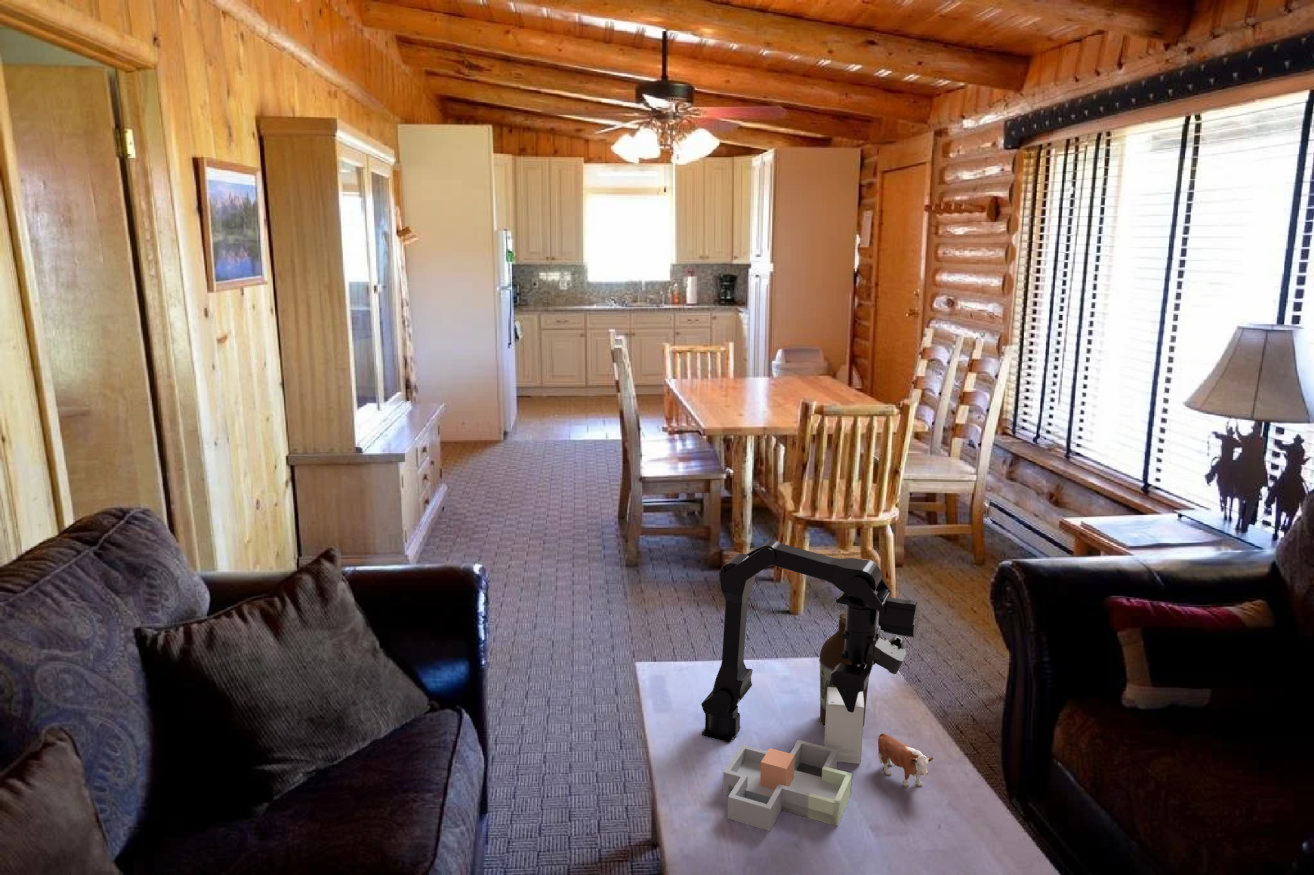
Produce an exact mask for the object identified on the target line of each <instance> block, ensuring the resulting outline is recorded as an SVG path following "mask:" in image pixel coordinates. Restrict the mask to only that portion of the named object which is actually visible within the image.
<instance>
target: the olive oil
mask: <svg viewBox="0 0 1314 875" xmlns="http://www.w3.org/2000/svg"><path fill="white" fill-rule="evenodd" d="M845 628H846V611H845V612H841V613H840V614H839V619H838V630H837V631H836V632H835V633H834V634H832V635H831V636H830V637H828V638H827V639H826V640H825V642H823V644H822V647H821V649H820V652H819V658H818V660H819V688H820V689H819V693H820V694H819V697H820V698H819V701H820V704H819V705H820V708H819V720H820V723H821V725H822V726H823V727H824V728H825V719H826V700H827V687H836V686H834V685H832V684H831V673H832V672H833V670H834V669H835V667H836V666H837V665H839V664H840V663H844V664H848V665H851V664H852V662H849V661H848V659H844V658H841V656H842V652H843V650H844V648H845V639H843V638H842V636H843V632H844V631H845ZM869 679H870V678H869ZM869 679H868V684H867V686H866V689H865V690H864V691H863V697H864V717H863V728H864V727H865V721H866V720H865V719H866V710H867V709H866V707H867V701H868V700H867V699H868V698H867V697H868V689H869V682H870V680H869Z"/></svg>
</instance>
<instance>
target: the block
mask: <svg viewBox="0 0 1314 875" xmlns="http://www.w3.org/2000/svg"><path fill="white" fill-rule="evenodd" d="M766 751H767V753H766V755H765V756H764V758H763V759H762V761H761V777H760V786H764V787H767V788H771V789H774V790H775V789H776V787H777V786H778V784H780V785H784V786H788V787H789V786H790V784H791V782H792V781H793V779H794V762H795V755H794V754H790V753H791V752H786V751H782V750H779V749H775V748H771V747H770V748H768V750H766Z"/></svg>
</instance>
